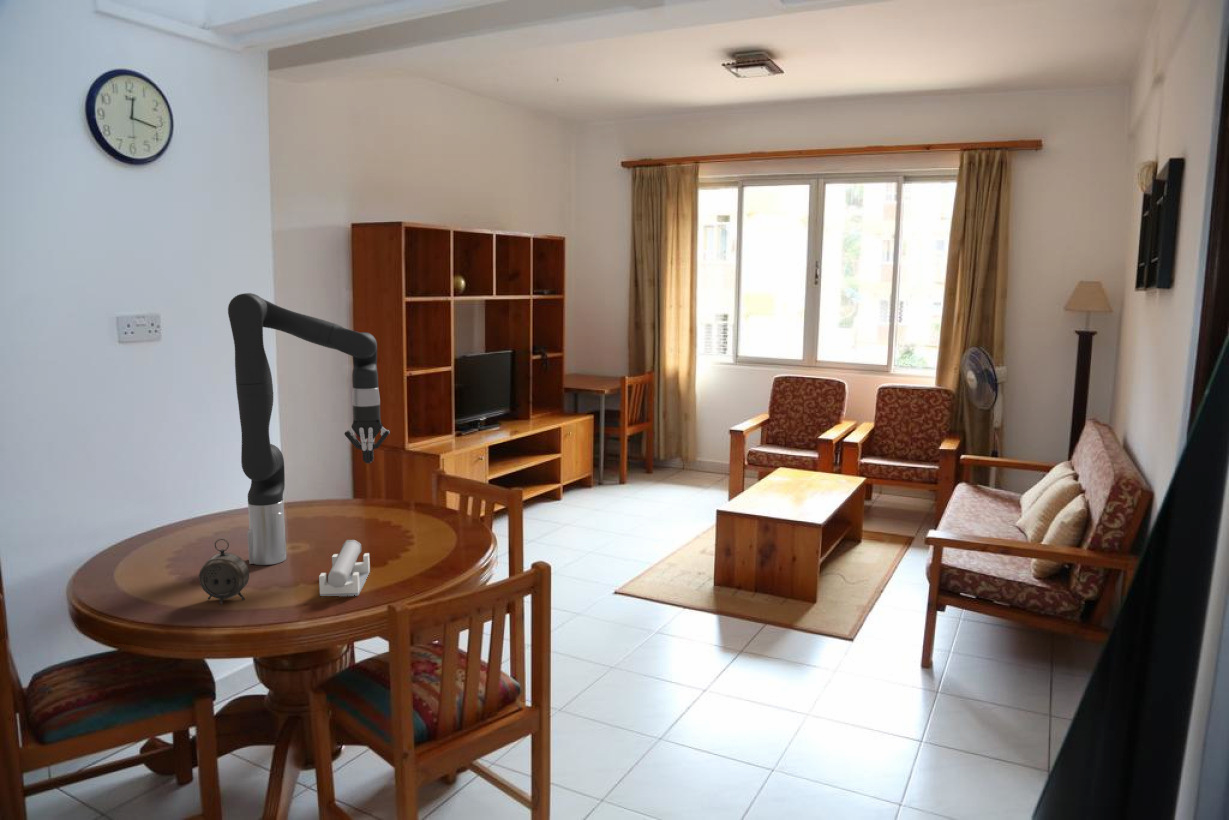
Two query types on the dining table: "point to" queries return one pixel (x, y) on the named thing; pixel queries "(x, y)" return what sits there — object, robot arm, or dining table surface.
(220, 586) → the alarm clock
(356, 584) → the cradle
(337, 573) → the tube
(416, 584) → the dining table surface
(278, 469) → the robot arm
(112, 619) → the dining table surface
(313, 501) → the dining table surface
